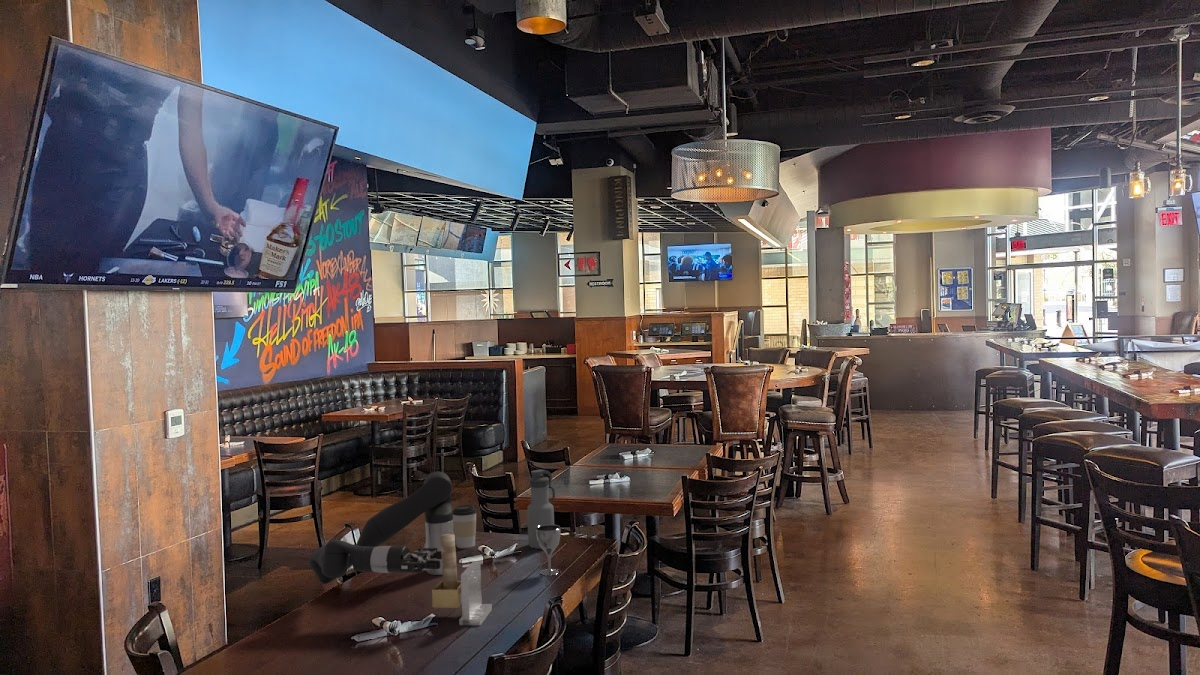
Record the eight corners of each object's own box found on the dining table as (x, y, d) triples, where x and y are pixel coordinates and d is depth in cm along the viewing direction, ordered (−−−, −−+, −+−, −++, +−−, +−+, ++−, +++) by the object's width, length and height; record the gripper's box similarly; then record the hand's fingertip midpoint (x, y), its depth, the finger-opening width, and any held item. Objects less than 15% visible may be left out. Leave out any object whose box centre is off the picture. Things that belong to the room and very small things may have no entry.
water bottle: (542, 540, 294) (539, 466, 293) (561, 544, 288) (558, 469, 287) (523, 546, 286) (520, 471, 285) (542, 551, 280) (539, 474, 279)
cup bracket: (430, 624, 214) (428, 574, 214) (444, 608, 226) (442, 561, 226) (480, 625, 212) (478, 575, 212) (492, 609, 224) (490, 561, 224)
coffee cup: (448, 547, 288) (447, 507, 288) (463, 541, 296) (462, 502, 296) (468, 550, 284) (466, 509, 284) (482, 543, 292) (481, 504, 292)
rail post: (441, 599, 219) (437, 536, 220) (452, 595, 222) (448, 533, 223) (450, 602, 217) (446, 538, 217) (461, 597, 220) (457, 534, 220)
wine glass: (560, 576, 251) (559, 530, 251) (536, 576, 251) (534, 531, 251) (562, 568, 259) (560, 524, 259) (539, 569, 259) (537, 524, 259)
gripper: (400, 564, 228) (453, 565, 226) (380, 580, 214) (437, 581, 212) (399, 539, 228) (452, 539, 226) (379, 553, 214) (436, 554, 212)
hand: (444, 559), depth 219 cm, fingers open, 8 cm apart
